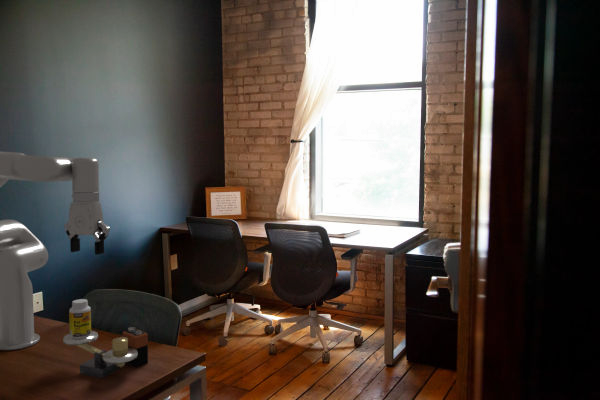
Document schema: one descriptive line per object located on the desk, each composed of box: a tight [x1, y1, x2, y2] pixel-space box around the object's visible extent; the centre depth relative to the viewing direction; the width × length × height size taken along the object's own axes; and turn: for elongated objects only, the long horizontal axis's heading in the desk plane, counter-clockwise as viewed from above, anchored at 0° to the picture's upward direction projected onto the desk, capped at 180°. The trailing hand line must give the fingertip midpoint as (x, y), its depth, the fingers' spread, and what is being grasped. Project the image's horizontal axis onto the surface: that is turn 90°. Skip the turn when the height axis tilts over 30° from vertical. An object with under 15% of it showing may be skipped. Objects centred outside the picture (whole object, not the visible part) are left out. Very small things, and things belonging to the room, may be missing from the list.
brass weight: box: [111, 336, 128, 357], centre depth 131 cm, size 4×4×4 cm
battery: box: [122, 326, 149, 368], centre depth 139 cm, size 4×7×10 cm, turn 52°
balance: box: [62, 330, 138, 379], centre depth 134 cm, size 23×9×9 cm, turn 69°
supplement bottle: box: [68, 298, 92, 339], centre depth 135 cm, size 6×6×10 cm
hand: (87, 252), depth 149 cm, fingers open, 9 cm apart
